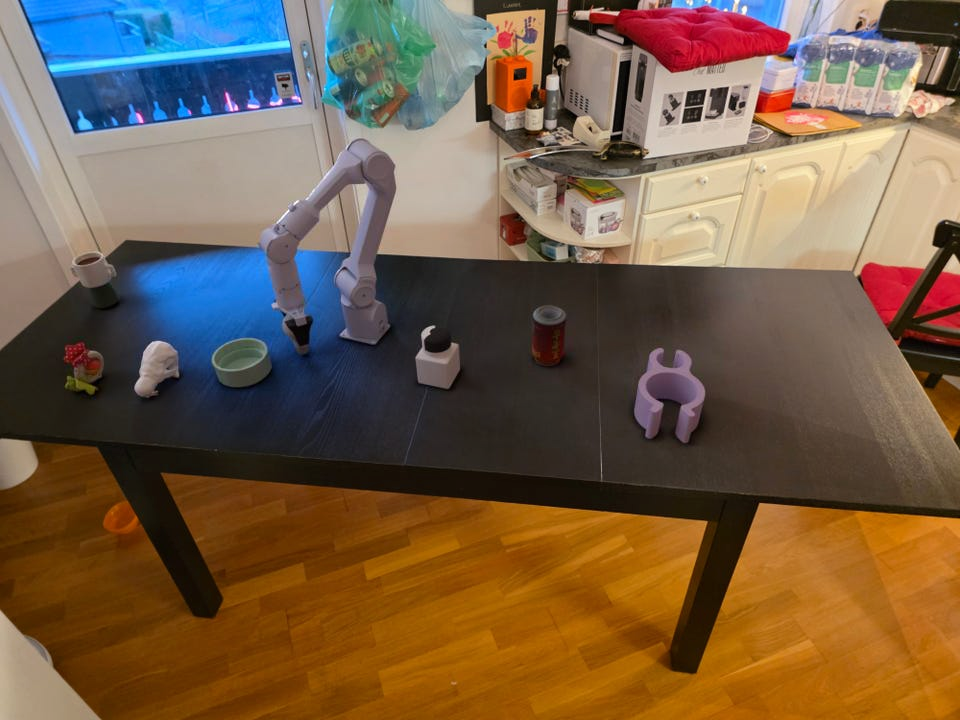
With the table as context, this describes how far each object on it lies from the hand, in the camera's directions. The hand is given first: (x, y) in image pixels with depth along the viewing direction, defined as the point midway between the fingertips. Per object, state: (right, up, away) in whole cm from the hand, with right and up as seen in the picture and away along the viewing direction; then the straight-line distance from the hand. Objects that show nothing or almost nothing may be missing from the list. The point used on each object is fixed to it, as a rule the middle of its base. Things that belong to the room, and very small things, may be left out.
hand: (299, 335), depth 146 cm
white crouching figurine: (-29, -11, -4) cm, 31 cm away
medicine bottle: (+32, -9, -4) cm, 33 cm away
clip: (+78, -15, -13) cm, 80 cm away
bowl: (-11, -8, -1) cm, 14 cm away
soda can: (+55, -5, 0) cm, 55 cm away
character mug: (-55, +9, +22) cm, 60 cm away
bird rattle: (-44, -11, -3) cm, 45 cm away
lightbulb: (0, -4, +3) cm, 5 cm away
